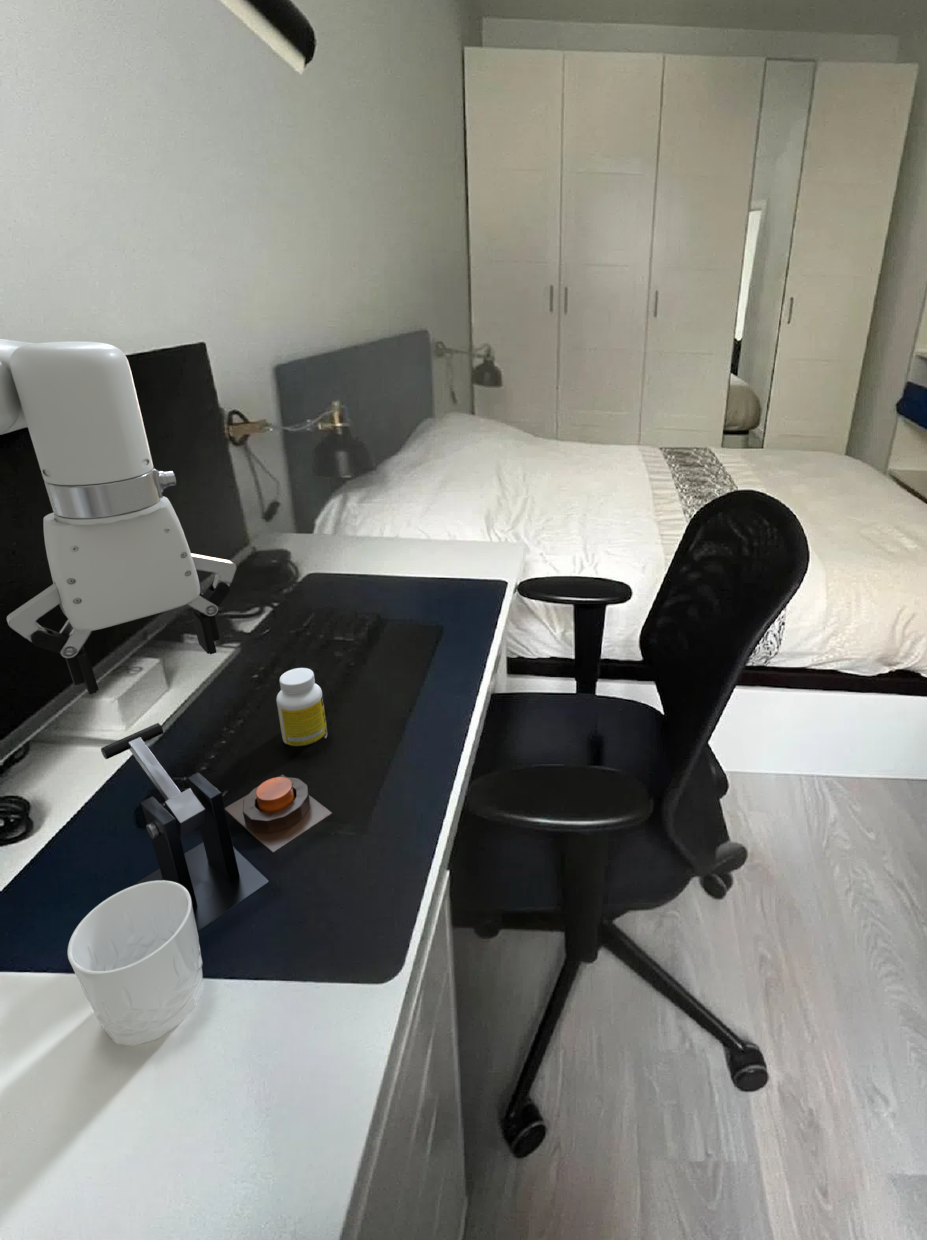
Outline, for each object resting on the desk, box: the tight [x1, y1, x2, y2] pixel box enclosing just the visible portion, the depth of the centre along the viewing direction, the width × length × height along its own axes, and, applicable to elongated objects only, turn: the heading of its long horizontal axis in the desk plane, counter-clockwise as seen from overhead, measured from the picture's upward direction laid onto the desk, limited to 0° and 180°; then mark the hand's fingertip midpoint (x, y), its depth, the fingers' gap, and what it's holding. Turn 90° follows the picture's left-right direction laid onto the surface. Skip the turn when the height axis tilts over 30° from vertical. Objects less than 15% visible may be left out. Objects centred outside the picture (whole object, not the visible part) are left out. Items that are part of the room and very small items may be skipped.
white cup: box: [67, 880, 205, 1047], centre depth 52 cm, size 8×8×10 cm
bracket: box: [135, 772, 271, 933], centre depth 62 cm, size 10×8×12 cm
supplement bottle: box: [275, 667, 328, 747], centre depth 83 cm, size 5×5×10 cm
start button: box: [256, 776, 294, 813], centre depth 71 cm, size 4×4×2 cm
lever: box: [100, 722, 205, 838], centre depth 62 cm, size 12×5×2 cm, turn 54°
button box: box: [224, 774, 333, 854], centre depth 72 cm, size 10×7×3 cm
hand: (152, 667), depth 62 cm, fingers open, 9 cm apart
